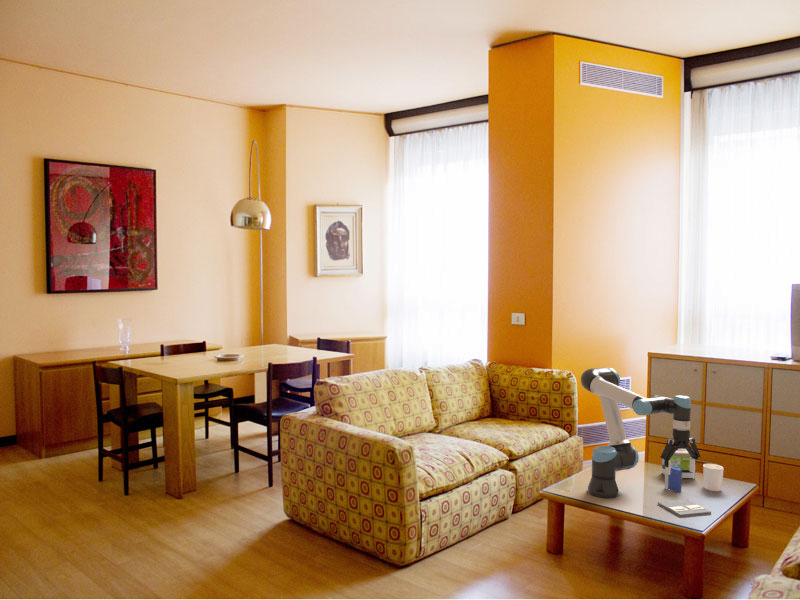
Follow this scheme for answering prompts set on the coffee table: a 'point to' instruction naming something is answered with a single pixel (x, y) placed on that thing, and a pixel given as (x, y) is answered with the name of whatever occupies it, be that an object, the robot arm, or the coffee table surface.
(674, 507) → the label board
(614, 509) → the coffee table surface
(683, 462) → the tea box
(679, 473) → the walkman
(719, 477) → the candle holder
